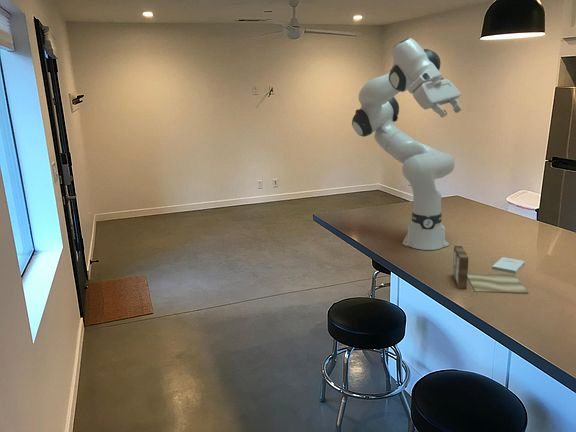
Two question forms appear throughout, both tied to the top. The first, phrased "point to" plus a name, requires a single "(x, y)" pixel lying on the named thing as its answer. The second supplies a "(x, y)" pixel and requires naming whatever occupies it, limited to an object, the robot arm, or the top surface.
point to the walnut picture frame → (460, 267)
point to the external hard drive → (508, 265)
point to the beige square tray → (496, 283)
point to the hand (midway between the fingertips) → (452, 113)
